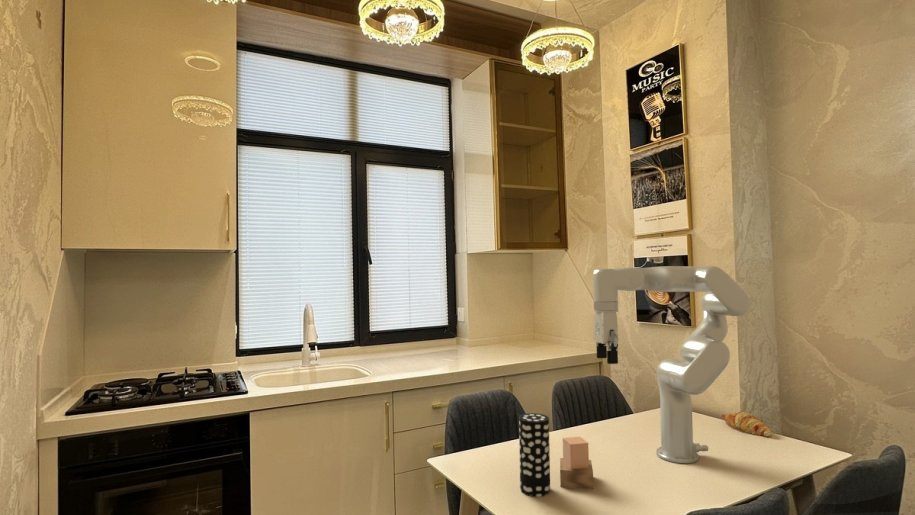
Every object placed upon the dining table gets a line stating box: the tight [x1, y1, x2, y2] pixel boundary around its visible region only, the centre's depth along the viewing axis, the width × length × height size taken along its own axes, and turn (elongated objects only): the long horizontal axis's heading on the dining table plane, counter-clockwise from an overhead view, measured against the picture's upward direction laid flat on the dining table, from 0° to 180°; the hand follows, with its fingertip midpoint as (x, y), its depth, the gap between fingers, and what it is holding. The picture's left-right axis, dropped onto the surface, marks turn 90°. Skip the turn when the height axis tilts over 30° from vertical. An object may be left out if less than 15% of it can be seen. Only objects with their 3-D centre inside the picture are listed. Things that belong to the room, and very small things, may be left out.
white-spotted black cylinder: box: [518, 412, 551, 497], centre depth 135 cm, size 8×8×20 cm
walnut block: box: [559, 457, 594, 490], centre depth 140 cm, size 9×9×5 cm
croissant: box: [721, 410, 774, 438], centre depth 183 cm, size 21×10×8 cm, turn 20°
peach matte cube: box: [562, 436, 590, 469], centre depth 140 cm, size 6×6×7 cm
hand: (607, 360), depth 154 cm, fingers open, 9 cm apart
